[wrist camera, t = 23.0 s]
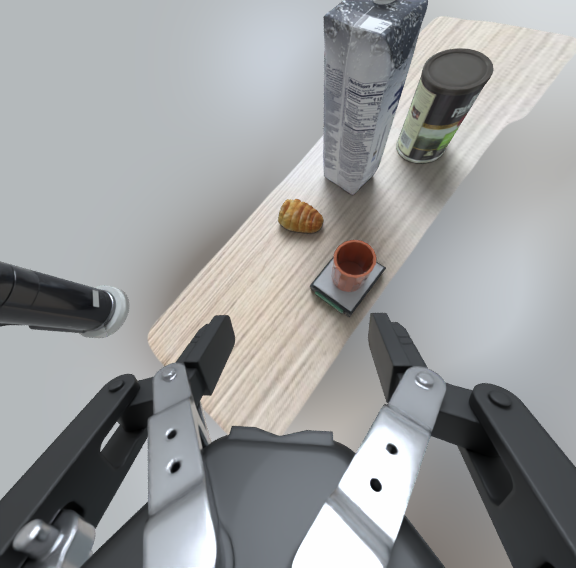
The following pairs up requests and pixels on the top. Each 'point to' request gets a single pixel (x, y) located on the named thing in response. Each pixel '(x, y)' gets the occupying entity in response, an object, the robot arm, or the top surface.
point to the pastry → (300, 217)
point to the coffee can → (442, 102)
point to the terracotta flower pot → (352, 265)
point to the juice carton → (364, 82)
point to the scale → (340, 298)
